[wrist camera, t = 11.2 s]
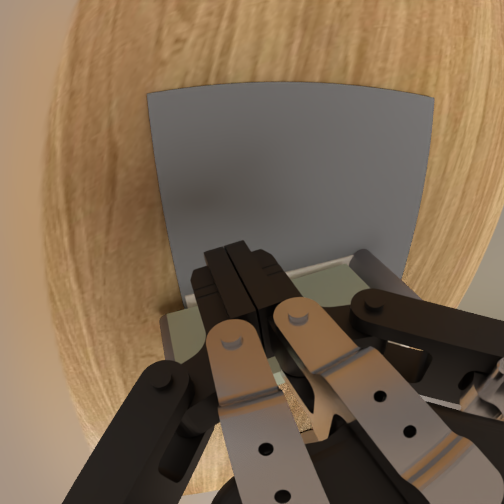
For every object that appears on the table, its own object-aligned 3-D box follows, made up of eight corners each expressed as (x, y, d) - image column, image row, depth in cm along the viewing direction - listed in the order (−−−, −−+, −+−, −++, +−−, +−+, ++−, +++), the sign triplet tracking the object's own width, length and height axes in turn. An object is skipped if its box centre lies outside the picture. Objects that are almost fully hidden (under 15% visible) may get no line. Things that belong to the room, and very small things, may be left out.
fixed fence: (344, 358, 28) (383, 415, 22) (326, 364, 27) (365, 424, 21) (372, 246, 21) (443, 310, 15) (350, 252, 20) (421, 322, 14)
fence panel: (345, 263, 20) (401, 320, 15) (344, 277, 20) (395, 334, 16) (156, 316, 17) (171, 402, 12) (162, 329, 18) (178, 413, 13)
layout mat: (377, 340, 29) (379, 343, 29) (209, 397, 25) (210, 402, 24) (430, 97, 16) (435, 98, 16) (147, 93, 12) (146, 93, 11)
